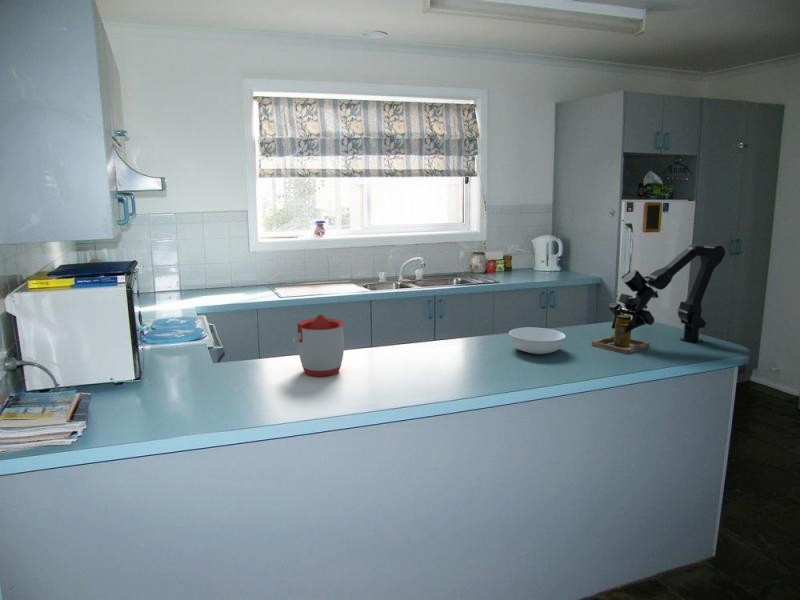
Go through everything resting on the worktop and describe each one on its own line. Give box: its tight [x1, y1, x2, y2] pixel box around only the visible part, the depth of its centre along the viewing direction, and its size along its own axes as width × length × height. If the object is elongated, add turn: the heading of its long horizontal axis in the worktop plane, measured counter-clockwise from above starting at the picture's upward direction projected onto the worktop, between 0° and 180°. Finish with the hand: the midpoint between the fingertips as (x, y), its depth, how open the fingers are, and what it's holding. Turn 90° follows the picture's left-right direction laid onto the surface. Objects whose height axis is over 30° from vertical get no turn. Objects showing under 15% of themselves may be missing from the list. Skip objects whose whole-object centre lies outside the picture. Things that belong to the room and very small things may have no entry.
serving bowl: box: [508, 326, 567, 355], centre depth 231 cm, size 21×21×7 cm
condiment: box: [608, 314, 635, 349], centre depth 237 cm, size 7×8×12 cm
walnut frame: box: [591, 335, 650, 355], centre depth 238 cm, size 16×15×2 cm
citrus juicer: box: [292, 313, 345, 377], centre depth 205 cm, size 16×17×20 cm
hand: (618, 329), depth 237 cm, fingers closed on condiment, 6 cm apart
